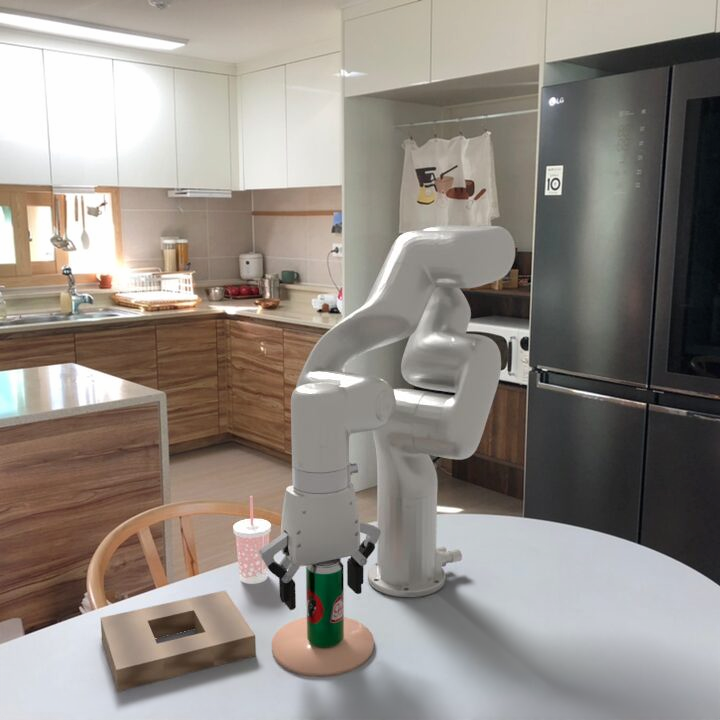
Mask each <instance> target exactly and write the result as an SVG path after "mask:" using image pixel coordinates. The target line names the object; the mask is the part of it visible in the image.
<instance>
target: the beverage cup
mask: <svg viewBox="0 0 720 720" xmlns="http://www.w3.org/2000/svg"><path fill="white" fill-rule="evenodd" d="M249 511H250V513H249V514H250V518H246V519H241V520H239V521H237V522H235V523H234V524H233V525H232V526H233V530H232V531H233V534H234V535H235V543H236V555H237V564H238V572H239V573H238V576H239V580H240V581H241V582H242V583H245V584H248V585H255V584H260V583H263V582H265V581H266V580H267V579H268V578H269V577H268V575H269V569H268V568H267V567H266V565H265V563H264V562H263V560H262V558H261V557H260V555H259V550H260V549H262V548H263V547H264V546H266V545H267V544H269V543H270V533H271V531H272V529H271V528H272V524H271V522H269V521H268V519H267V520H266V519H263V518H254V496H253V495H250V496H249Z"/></svg>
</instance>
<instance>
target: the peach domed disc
mask: <svg viewBox="0 0 720 720" xmlns="http://www.w3.org/2000/svg"><path fill="white" fill-rule="evenodd" d="M374 640H375V639H374V636H373V633H372V631H370V629H369V628H368V627H367V626H366V625H365V624H363V623H361V622H359V621H358V620H356V619H355V620H354V619H352V618H348V617H345V616H344V638H343V640H342V641H341V642H340V643H339V644H338V645H337V646H334V647H331V648H318V647H315V646H314V645H312V644H311V643H310V642H309V641H308V639H307V616H305V617H301V618H297V619H295V620H292V621H290V622H289V623H287V624H285V625H284V626H282V627H280V629H278V630H277V631H276V633H275V634H274V636H273V637H272V641H271V652H272V657H273V658H274V660H275V661H276V662H277V664H279V666H281V667H282V668H284V669H286V670H288V671H289V672H291V673H295V674H298V675H301V676H308V677H332V676H333V677H334V676H339V675H342V674H347V673H349V672H353V671H354V670H356V669H358V668H359V667H362V666H363V665H364V664H365V663H367V662H368V661H369V660H370V658H371V657H372V656H373V653H374V650H375V649H374V648H375V645H374V644H375V641H374Z"/></svg>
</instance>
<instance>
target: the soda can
mask: <svg viewBox="0 0 720 720" xmlns="http://www.w3.org/2000/svg"><path fill="white" fill-rule="evenodd" d="M341 559H342V558H340V559H335V560H331V561H326V562H321V563H317V564H312V565H307V566H305V580H306V581H305V582H306V586H305V587H306V589H305V590H306V592H305V594H306V617H307V639H308V641H309V642H310V643H311V644H312V645H314V646H315V647H318V648H331V647H334V646H337V645H338V644H339V643H340V642H341V641H342V640H343V638H344V617H345V612H344V611H345V609H344V608H345V606H344V602H345V601H344V586H345V585H344V577H345V576H344V563H343V562H342V560H341Z"/></svg>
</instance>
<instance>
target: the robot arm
mask: <svg viewBox="0 0 720 720" xmlns="http://www.w3.org/2000/svg"><path fill="white" fill-rule="evenodd" d="M515 259H516V244H515V241H514V239H513V236H512V235H511V233H510V231H509V230H507V229H506V228H504V227H503V226H499V225H438V226H437V225H436V226H431V227H427V228H424V229H421V230H419V229H418V230H412V231H407V232H405V233H403V234H400V235H399V236H398V237H397V238H396V239H395V241H394V242H393V244H392V245H391V248H390V250H389V252H388V254H387V256H386V258H385V260H384V262H383V265H382V267H381V269H380V271H379V273H378V275H377V277H376V280H375V281H374V284H373V285H372V288H371V289H370V292H369V294H368V296H367V299H366V300H365V302H364V304H363V305H362V306H361V307H360V308H358V309H357V310H355V311H354V312H352V313H350V314H349V315H347V316H345V318H343V319H342V320H340V322H338V323H337V324H336V325H334V326H332V328H330V329H329V330H328V331H327V332H325V334H323V335H322V336H321V337H320V338H319V339H318V341H316V343H315V345H314V347H312V350H311V352H310V353H309V355H308V357H307V360H306V362H305V363H304V366H303V368H302V370H301V372H300V375H299V376H298V379H297V383H296V386H295V389H294V390H293V391H292V394H291V396H290V397H291V398H290V418H291V419H290V422H291V423H290V425H291V426H290V429H291V430H290V431H291V432H290V433H291V436H290V438H291V471H292V475H291V476H292V477H291V479H292V481H291V482H292V485H290V486H287V487H286V488H285V493H284V498H283V505H282V514H281V524H280V526H281V527H280V535H278V536H277V537H276V538H274V539H272V540H271V541H269V544H267V545H266V546H264V547H263V548H262V549H260V550H259V555H260V557H261V558H262V560H263V562H264V563H265V565H266V567H267V568H268V571H269V572H270V573H272V574H273V575H274V576H275V577H276V578H278V581H279V583H278V584H279V585H278V587H279V591H278V592H279V599H280V601H281V602H282V603H284V604H285V605H286V607H287V608H288V609H289V610H290V611H294V610H295V609H296V607H297V606H296V605H297V604H296V603H297V602H296V599H297V598H296V596H297V595H296V581H295V580H294V576H295V575H296V573H297V572H298V570H299V569H300V568H301V567H306V566H307V565H312V564H317V563H321V562H326V561H331V560H335V559H340V558H341V559H343V558H347V557H350V558H347V561H346V562H347V563H346V565H347V566H346V567H347V570H346V573H347V574H346V577H347V579H346V581H347V582H346V584H347V586H348V587H349V588H350V590H352V591H353V592H354V593H355V594H357V595H360V594H362V589H363V587H362V585H363V584H364V566H366V565H367V563H368V558H369V557H370V556H371V554H372V553H374V550H375V549H377V552H376V554H377V555H376V556H377V557H376V558H377V559H376V560H377V561H376V562H375V563H373V564H372V565H371V566H370V567H369V569H368V570H367V581H368V583H369V585H370V586H371V587H372V588H373V589H375V590H376V591H379V592H380V593H383V594H386V595H388V596H393V597H401V598H417V597H419V598H420V597H424V596H428V595H431V594H434V593H436V592H438V591H439V590H440V589H442V588H443V587H444V585H445V583H446V571H445V570H444V567H446V566H447V564H453V563H457V562H460V561H462V560H463V556H462V555H463V554H462V552H461V550H460V549H459V548H458V549H452V550H447V548H446V547H445V546H440V547H437V527H438V526H437V525H438V524H437V522H438V521H437V520H438V519H437V518H438V515H437V514H438V474H437V470H436V467H435V464H434V462H433V460H432V459H431V456H434V457H437V458H438V457H440V458H443V459H444V458H445V459H450V460H465V459H468V458H470V457H472V455H473V454H474V453H475V452H476V451H477V449H478V447H479V444H480V442H481V441H482V440H481V439H482V437H483V434H484V431H485V428H486V423H487V421H488V419H489V414H490V411H491V408H492V405H493V401H494V399H495V395H496V392H497V389H498V385H499V382H500V381H499V380H500V377H501V372H502V369H501V368H502V357H501V356H502V355H501V351H500V349H499V346H498V345H497V343H496V342H495V340H493V339H492V338H490V337H488V336H486V335H481V334H476V333H467V331H468V327H469V324H470V321H471V318H472V317H471V316H472V312H471V310H472V309H471V307H470V304H469V302H468V300H467V298H466V296H465V295H464V293H463V291H462V290H461V289H471V288H477V287H482V286H484V285H487V284H488V285H489V284H491V283H494V282H497V281H499V280H501V279H503V278H504V277H505V276H507V275H508V274H509V272H510V271H511V268H512V266H513V264H514V262H515ZM406 338H408V341H407V344H406V346H405V349H404V352H403V356H402V358H401V363H400V364H401V365H400V371H401V372H400V373H401V376H402V377H403V379H404V381H406V382H407V383H408V384H410V385H412V386H414V387H418V388H422V389H427V390H433V391H441V392H446V393H447V392H448V393H454V395H453V394H452V395H451V394H445V393H438V392H432V391H426V390H418V389H410V388H393V387H392V385H390V383H389V382H387V381H386V380H384V379H382V378H381V377H377V376H374V375H368V374H367V375H366V374H360V373H359V374H358V373H354V372H347V371H343V370H344V369H345V367H346V366H347V365H349V363H351V362H352V361H353V360H354V359H356V358H358V357H359V356H361V355H363V354H365V353H367V352H370V351H373V350H376V349H378V348H379V349H380V348H382V347H385V346H389V345H390V344H393V343H397V342H399V341H401V340H405V339H406ZM367 432H372V435H373V437H372V438H373V441H374V447H375V455H376V465H377V468H376V469H377V473H376V475H377V492H376V493H377V494H376V495H377V497H376V498H377V505H376V507H377V514H376V515H377V516H376V517H377V518H376V519H377V521H376V522H377V525H376V526H375V525H372V524H370V523H366V522H364V521H361V520H360V514H359V508H358V500H357V495H356V492H355V487H354V484H353V483H352V482H351V476H352V475H354V474H357V473H359V466H358V464H357V463H356V462H355V463H351V462H350V436H351V435H353V434H359V433H367ZM361 533H362V534H365V539H364V540H363V541H362V542H361ZM376 544H377V545H376ZM376 547H377V548H376ZM280 551H281V553H282V554H283V555H284V557H282V559H281V561H280V562H279V563H278V562H277V561H276V560H275V558H274V557H275V555H277V554H278V553H280Z"/></svg>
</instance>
